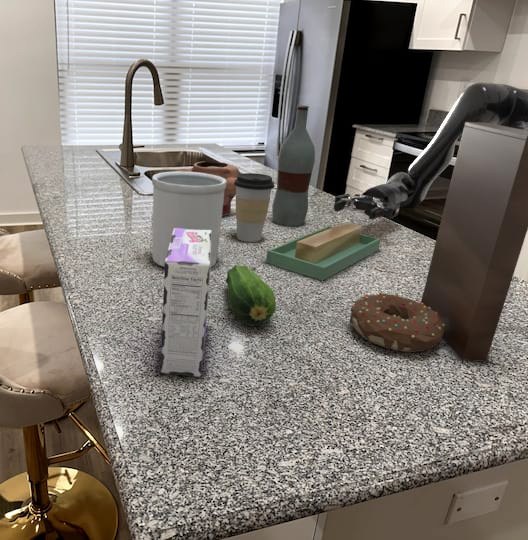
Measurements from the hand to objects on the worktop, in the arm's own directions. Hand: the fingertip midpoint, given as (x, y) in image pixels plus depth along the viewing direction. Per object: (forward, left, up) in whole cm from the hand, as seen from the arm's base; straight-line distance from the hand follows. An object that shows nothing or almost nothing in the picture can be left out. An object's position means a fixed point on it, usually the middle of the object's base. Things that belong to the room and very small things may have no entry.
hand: (353, 211), depth 119 cm
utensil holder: (+38, +16, -8) cm, 42 cm away
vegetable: (+27, +37, -8) cm, 47 cm away
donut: (+5, +45, -8) cm, 46 cm away
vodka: (+11, -17, -8) cm, 22 cm away
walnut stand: (-5, +43, -8) cm, 44 cm away
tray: (+7, +9, -8) cm, 14 cm away
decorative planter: (+33, -22, -8) cm, 41 cm away
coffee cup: (+23, -1, -8) cm, 25 cm away
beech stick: (+6, +7, -7) cm, 12 cm away
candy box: (+37, +53, -8) cm, 65 cm away
